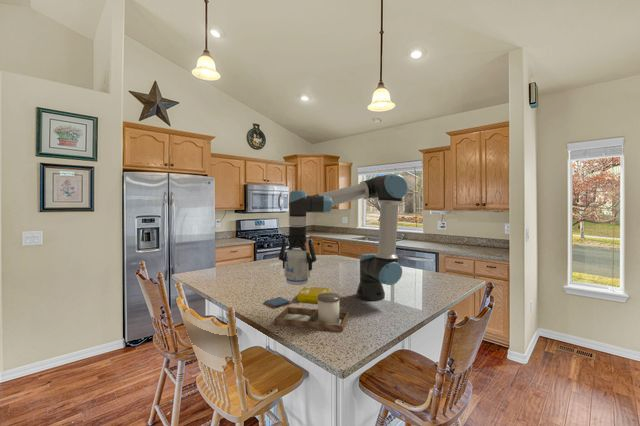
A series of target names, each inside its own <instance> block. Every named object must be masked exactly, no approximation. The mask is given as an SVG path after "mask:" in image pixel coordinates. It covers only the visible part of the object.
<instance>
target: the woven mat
mask: <svg viewBox="0 0 640 426" xmlns="http://www.w3.org/2000/svg"><path fill="white" fill-rule="evenodd" d="M263 304H264V305H266V306H269V307H271V308H273V307H274V308H273V309H278V308H281V307H285V306H288V305H291V304H292V302H291V300H289V299H286V298H283V297H282V296H279V297H275V298H272V299H271V298H270V299H267V300H264V303H263Z"/></svg>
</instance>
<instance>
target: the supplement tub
mask: <svg viewBox="0 0 640 426" xmlns="http://www.w3.org/2000/svg"><path fill="white" fill-rule="evenodd" d="M286 252H287V264H286V277H285V282H286V283H287V284H288V285H293V286H302V285H305V284H307V283H308V282H309V278H306V265H307V263H308V261H307V259H306V256H307V255H306V253H308V252H309V250H308V249H307V250H306V251H302V249H301V248H298V247H294V248H293V249H291V250H288V249H287V250H286Z"/></svg>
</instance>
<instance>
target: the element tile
mask: <svg viewBox="0 0 640 426" xmlns="http://www.w3.org/2000/svg"><path fill="white" fill-rule="evenodd" d="M322 293H331V289H330V288H329V287H317V286H315V287H314V286H304V287H303V288H301V290H299V292H298V293H297V297H296V298H297V303H301V304H302V303H303V304H317V305H318V299H317V296H318V295H319V294H322Z"/></svg>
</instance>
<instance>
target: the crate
mask: <svg viewBox="0 0 640 426" xmlns="http://www.w3.org/2000/svg"><path fill="white" fill-rule="evenodd" d="M290 313H292V314H290ZM293 313H294V314H293ZM289 314H290V315H289ZM309 315H311V316H309ZM340 318H343V320H341V319H340ZM349 318H350V312H348V311H339V324H328V323H319V322H318V308H317V309H316V308H305V307H298V306H297V307H295V306H287V307H286V308H285V309H283V310H282V311H281V312H280V313H279V314H278V315H277V316H276V317H275V318H274V326H275V327H276V326H277V325H283V326H291V327H298V328H299V327H300V328H306V329H307V328H309V329H316V330H324V331H325V330H326V331H335V332H343V331H344V329H345V327H346V325H347V323H348V320H349ZM315 319H316V320H315Z"/></svg>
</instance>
